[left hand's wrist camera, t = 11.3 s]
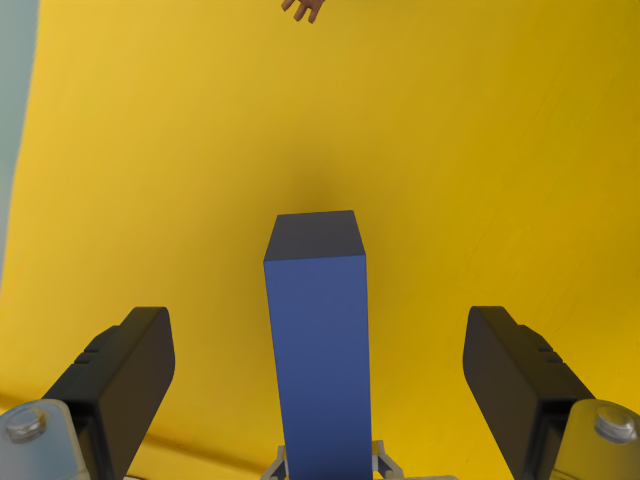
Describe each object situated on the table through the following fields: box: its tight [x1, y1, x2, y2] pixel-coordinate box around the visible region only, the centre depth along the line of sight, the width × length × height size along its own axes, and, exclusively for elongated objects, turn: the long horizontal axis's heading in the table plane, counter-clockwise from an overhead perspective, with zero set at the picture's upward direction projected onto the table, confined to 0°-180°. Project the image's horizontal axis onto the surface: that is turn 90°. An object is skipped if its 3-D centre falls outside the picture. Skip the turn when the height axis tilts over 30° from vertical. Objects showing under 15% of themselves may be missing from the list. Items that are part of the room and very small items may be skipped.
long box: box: [263, 210, 373, 480], centre depth 35 cm, size 24×6×10 cm, turn 4°
